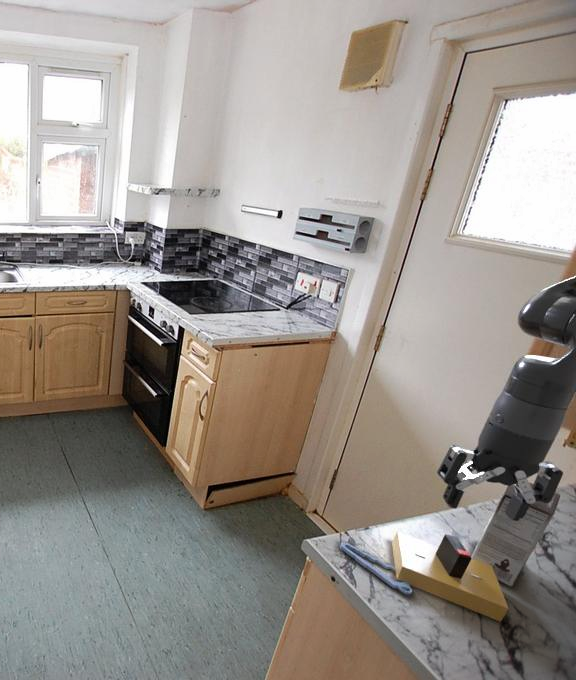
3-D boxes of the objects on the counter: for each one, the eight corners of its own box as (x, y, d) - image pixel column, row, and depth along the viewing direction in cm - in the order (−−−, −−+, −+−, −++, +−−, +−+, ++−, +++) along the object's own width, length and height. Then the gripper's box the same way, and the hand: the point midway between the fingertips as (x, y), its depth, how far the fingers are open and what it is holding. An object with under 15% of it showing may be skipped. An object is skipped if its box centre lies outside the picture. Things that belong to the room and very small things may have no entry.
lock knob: (435, 553, 81) (445, 532, 79) (447, 556, 81) (457, 535, 79) (449, 575, 77) (460, 554, 75) (461, 578, 76) (472, 557, 75)
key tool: (349, 541, 87) (335, 548, 85) (350, 537, 87) (336, 544, 84) (418, 589, 78) (405, 599, 75) (421, 585, 78) (407, 595, 75)
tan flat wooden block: (485, 578, 81) (492, 565, 80) (500, 622, 72) (509, 607, 71) (391, 543, 87) (397, 530, 86) (396, 579, 79) (402, 565, 78)
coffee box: (477, 542, 89) (512, 474, 84) (521, 564, 85) (561, 493, 79) (466, 564, 84) (503, 493, 78) (513, 589, 79) (555, 515, 73)
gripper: (560, 421, 71) (516, 506, 76) (454, 404, 74) (419, 487, 79) (599, 447, 64) (548, 538, 69) (481, 427, 67) (441, 516, 73)
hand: (479, 511), depth 74 cm, fingers open, 8 cm apart
